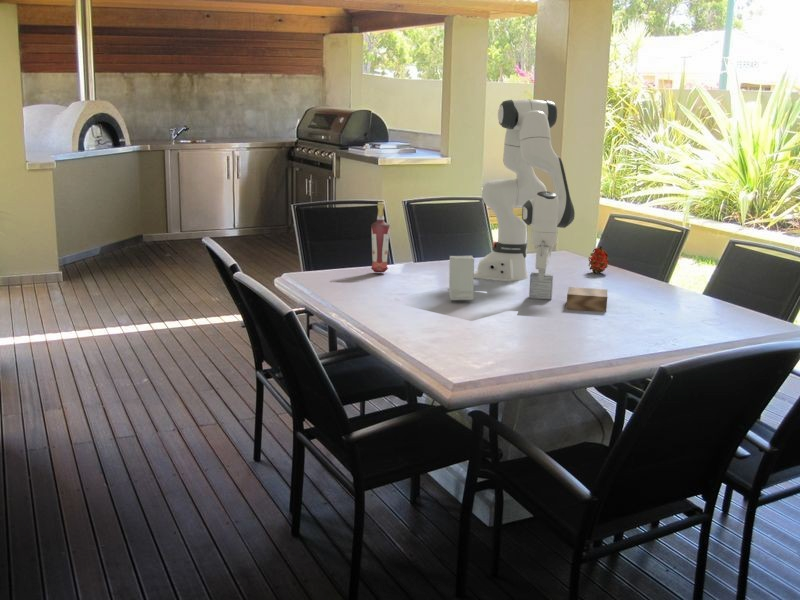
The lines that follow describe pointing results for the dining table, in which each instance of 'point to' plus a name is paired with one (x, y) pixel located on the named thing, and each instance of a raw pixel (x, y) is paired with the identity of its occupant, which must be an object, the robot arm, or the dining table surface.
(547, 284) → the grey streaked block
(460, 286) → the skincare box
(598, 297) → the walnut block
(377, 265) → the liquor
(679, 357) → the dining table surface
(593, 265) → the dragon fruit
